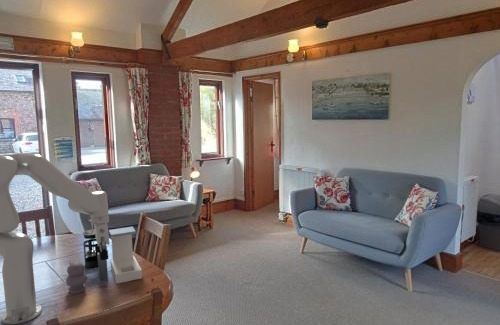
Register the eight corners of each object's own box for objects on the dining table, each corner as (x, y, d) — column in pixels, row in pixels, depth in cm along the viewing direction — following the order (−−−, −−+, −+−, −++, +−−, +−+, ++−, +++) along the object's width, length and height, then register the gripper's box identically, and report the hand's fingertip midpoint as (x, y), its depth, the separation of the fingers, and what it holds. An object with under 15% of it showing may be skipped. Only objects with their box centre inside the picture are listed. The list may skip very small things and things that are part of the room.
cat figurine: (90, 290, 155) (88, 263, 153) (71, 296, 149) (68, 268, 147) (83, 283, 161) (81, 257, 159) (64, 289, 155) (61, 262, 154)
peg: (107, 279, 164) (106, 253, 163) (99, 281, 163) (98, 255, 161) (107, 276, 167) (105, 251, 166) (99, 278, 166) (97, 252, 164)
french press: (81, 264, 181) (77, 219, 178) (99, 259, 187) (97, 215, 184) (90, 271, 173) (86, 224, 170) (109, 265, 179) (106, 220, 176)
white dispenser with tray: (142, 278, 165) (139, 237, 163) (116, 283, 160) (113, 241, 158) (134, 263, 182) (132, 225, 179) (110, 267, 177) (108, 229, 174)
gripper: (111, 223, 156) (114, 260, 158) (106, 212, 171) (109, 247, 174) (92, 226, 152) (96, 264, 155) (89, 215, 167) (92, 250, 170)
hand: (103, 255), depth 164 cm, fingers open, 9 cm apart
